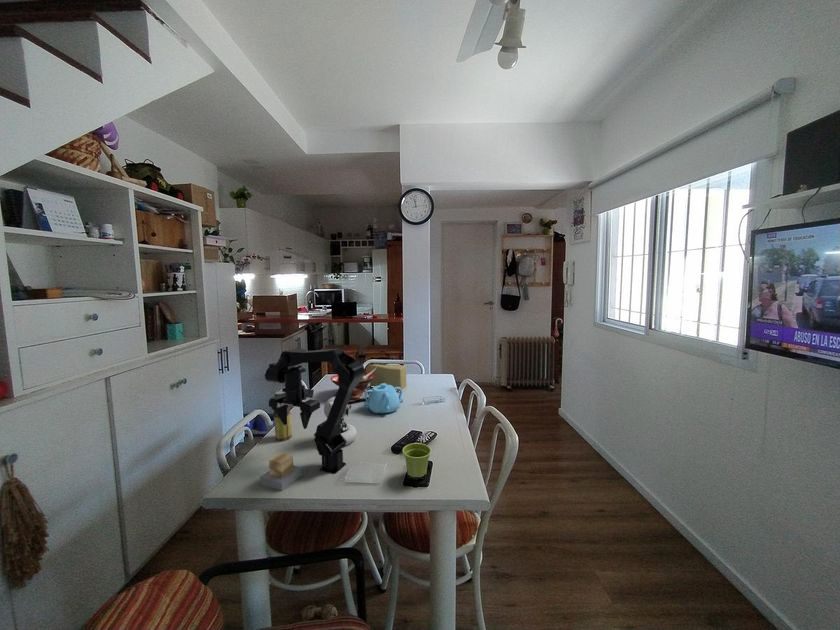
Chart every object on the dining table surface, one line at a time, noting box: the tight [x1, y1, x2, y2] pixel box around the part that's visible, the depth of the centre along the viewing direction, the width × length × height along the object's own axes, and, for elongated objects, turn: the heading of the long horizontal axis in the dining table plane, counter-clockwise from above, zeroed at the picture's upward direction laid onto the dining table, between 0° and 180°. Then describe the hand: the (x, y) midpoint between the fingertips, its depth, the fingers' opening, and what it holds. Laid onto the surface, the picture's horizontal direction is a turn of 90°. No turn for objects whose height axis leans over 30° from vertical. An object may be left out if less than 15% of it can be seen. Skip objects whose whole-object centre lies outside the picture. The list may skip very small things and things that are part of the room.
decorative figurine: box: [323, 396, 358, 446], centre depth 131 cm, size 15×15×20 cm
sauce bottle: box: [273, 390, 293, 442], centre depth 133 cm, size 6×6×20 cm
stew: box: [330, 366, 379, 402], centre depth 182 cm, size 28×24×16 cm
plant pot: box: [402, 442, 432, 477], centre depth 107 cm, size 9×9×9 cm
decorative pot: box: [363, 383, 404, 414], centre depth 163 cm, size 16×16×14 cm
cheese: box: [369, 363, 407, 391], centre depth 195 cm, size 22×10×15 cm, turn 73°
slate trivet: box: [259, 464, 304, 492], centre depth 106 cm, size 9×9×2 cm
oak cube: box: [268, 452, 294, 478], centre depth 105 cm, size 5×5×5 cm
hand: (295, 426), depth 118 cm, fingers open, 9 cm apart
